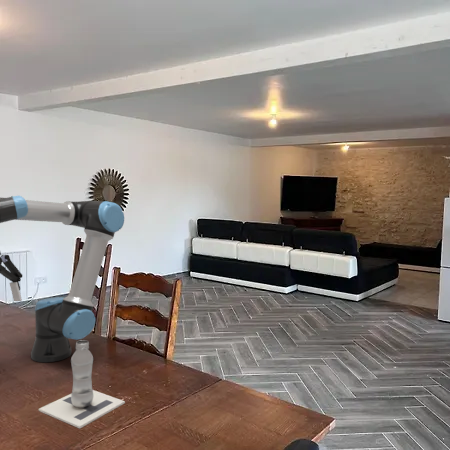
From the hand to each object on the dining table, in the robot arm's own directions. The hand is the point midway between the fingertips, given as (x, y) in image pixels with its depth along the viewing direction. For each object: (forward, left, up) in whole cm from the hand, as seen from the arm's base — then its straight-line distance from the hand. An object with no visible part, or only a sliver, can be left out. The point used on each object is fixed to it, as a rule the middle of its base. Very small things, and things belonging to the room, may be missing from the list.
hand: (2, 309), depth 144 cm
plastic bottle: (-7, +30, -27) cm, 41 cm away
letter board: (-7, +30, -27) cm, 41 cm away
